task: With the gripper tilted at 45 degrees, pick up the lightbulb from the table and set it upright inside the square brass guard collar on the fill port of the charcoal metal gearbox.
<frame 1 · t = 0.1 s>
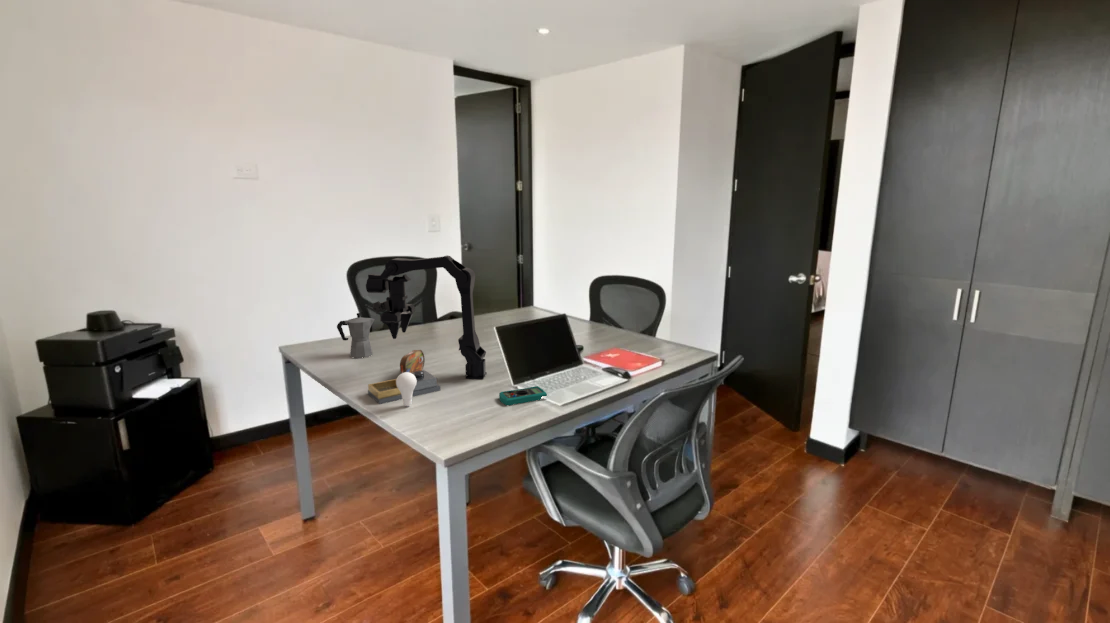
hand: (399, 335, 186), 15 cm above the table, tool pointing down, fingers open, 9 cm apart
coffeepot: (358, 356, 210), on the table
gearbox: (388, 395, 167), on the table
lightbulb: (407, 406, 159), on the table
tin: (412, 374, 189), on the table
digital multimeter: (523, 400, 166), on the table
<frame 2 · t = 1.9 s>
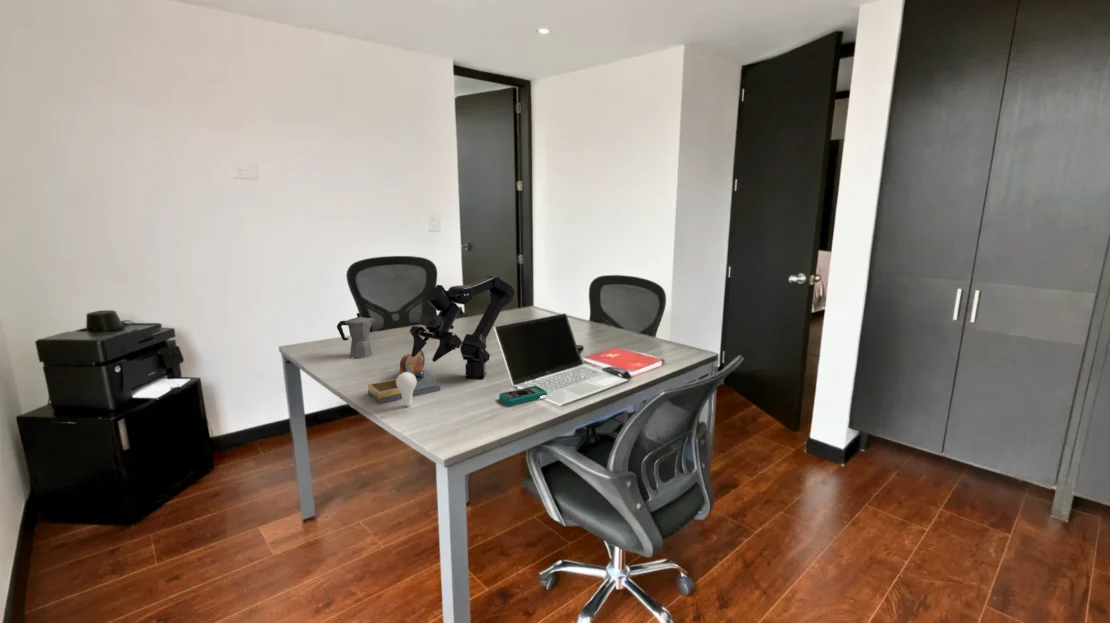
hand: (422, 358, 162), 13 cm above the table, tool tilted 45°, fingers open, 9 cm apart
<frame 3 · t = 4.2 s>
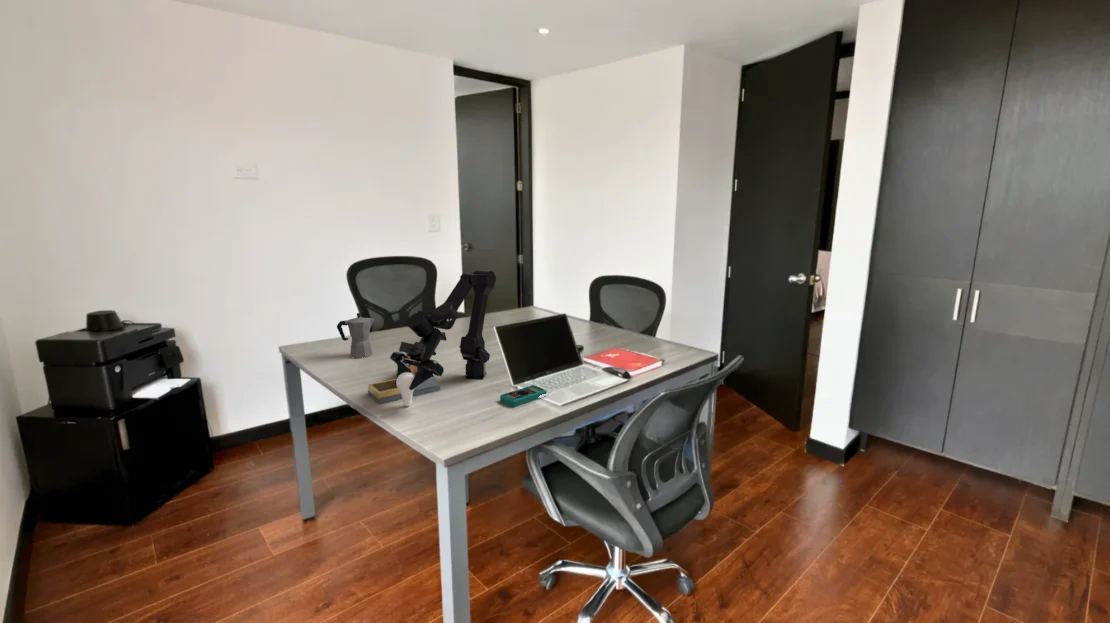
hand: (403, 387, 156), 7 cm above the table, tool tilted 45°, fingers closed on lightbulb, 6 cm apart
lightbulb: (407, 406, 159), on the table, touching gripper
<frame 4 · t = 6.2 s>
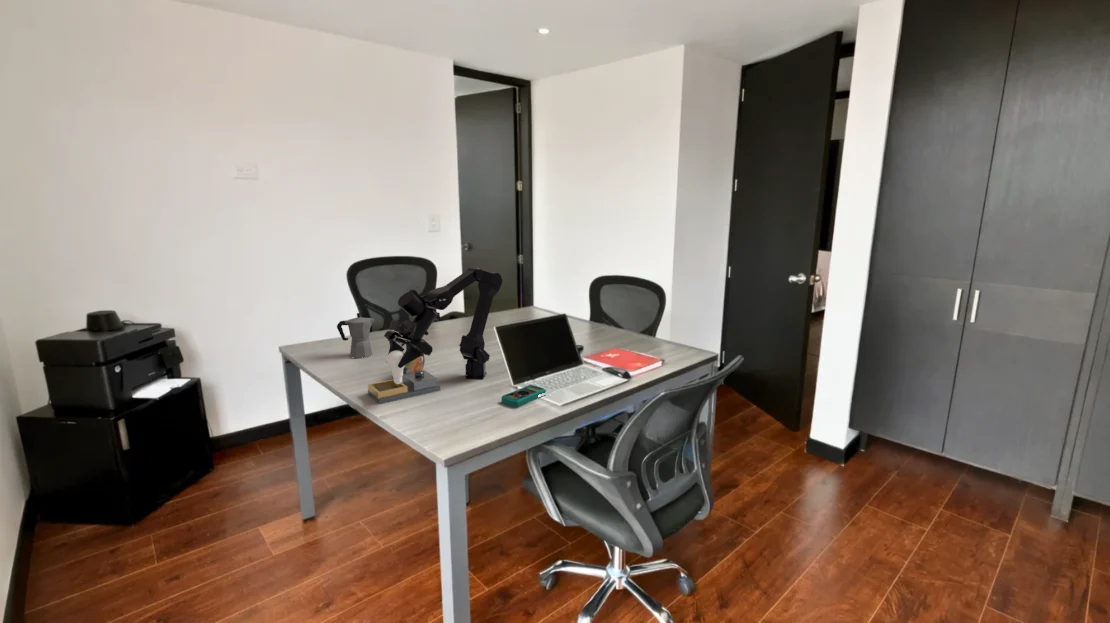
hand: (392, 365, 158), 13 cm above the table, tool tilted 45°, fingers closed on lightbulb, 6 cm apart
lightbulb: (398, 384, 160), point 6 cm above the table, touching gripper
when the fingers open (9 cm above the table, at t = 8.3 s): lightbulb stays where it is, resting on gearbox.
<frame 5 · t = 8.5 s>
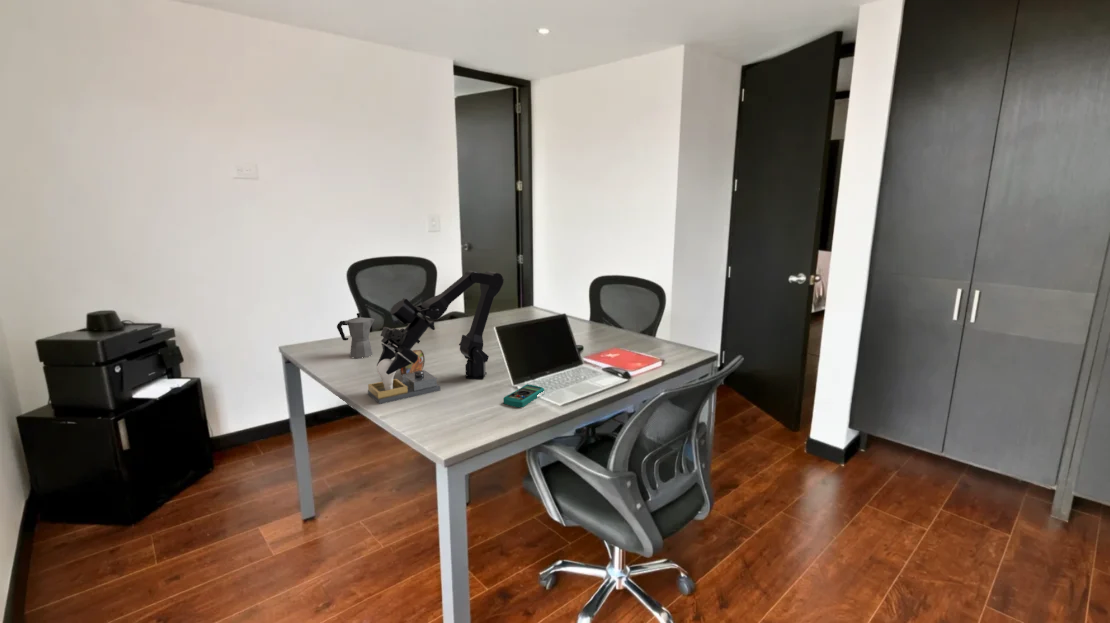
hand: (382, 370, 164), 9 cm above the table, tool tilted 45°, fingers open, 8 cm apart
lightbulb: (388, 391, 167), point 1 cm above the table, touching gearbox
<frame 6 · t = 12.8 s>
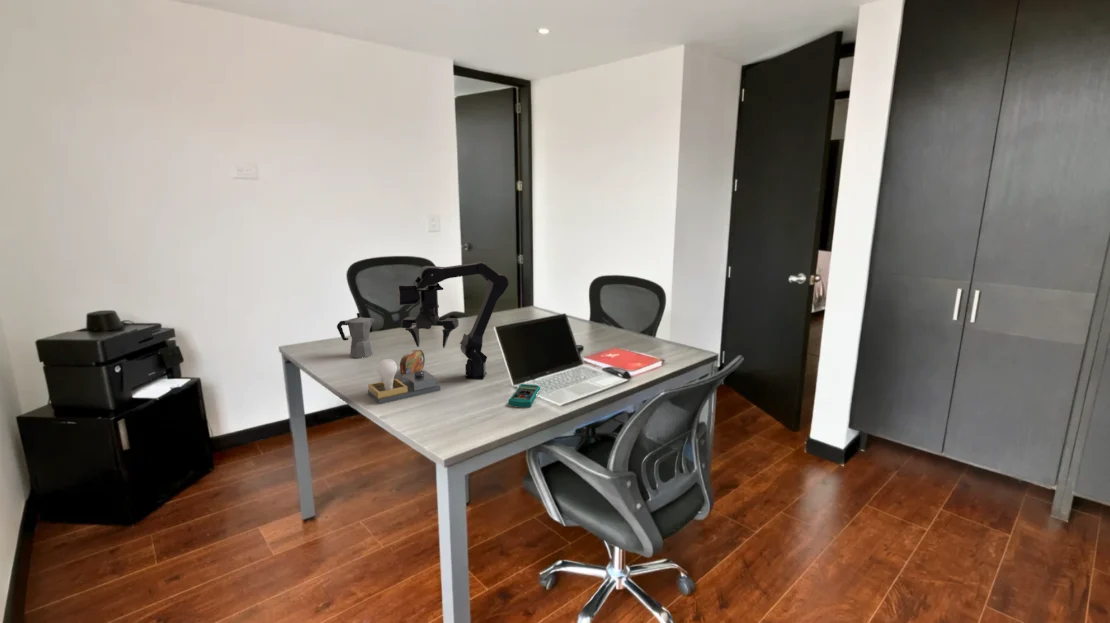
hand: (431, 347, 177), 13 cm above the table, tool pointing down, fingers open, 9 cm apart
at the end: lightbulb 0.3 cm off-centre on the gearbox, point 1.3 cm above the gearbox's base; lightbulb tilted 1°; the gripper is holding nothing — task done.
